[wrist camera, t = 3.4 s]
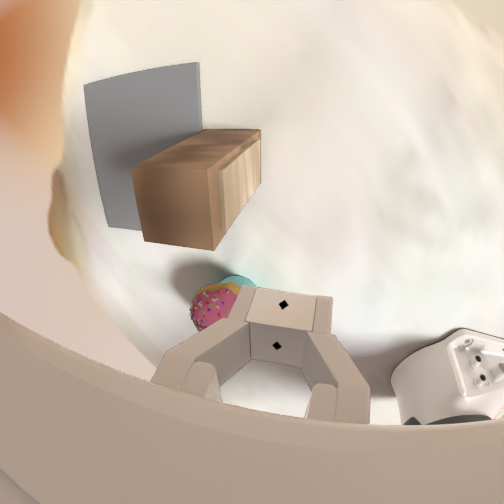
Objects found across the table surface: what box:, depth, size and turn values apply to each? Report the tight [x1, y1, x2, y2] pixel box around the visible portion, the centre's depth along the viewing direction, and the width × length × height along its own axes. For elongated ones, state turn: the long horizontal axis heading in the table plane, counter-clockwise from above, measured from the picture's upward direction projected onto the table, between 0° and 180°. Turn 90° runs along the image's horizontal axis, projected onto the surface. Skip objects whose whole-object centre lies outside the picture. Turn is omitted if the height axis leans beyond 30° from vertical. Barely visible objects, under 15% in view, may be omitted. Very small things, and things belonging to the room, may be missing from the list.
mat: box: [84, 62, 203, 231], centre depth 29 cm, size 14×18×1 cm
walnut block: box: [131, 129, 261, 251], centre depth 22 cm, size 5×5×12 cm
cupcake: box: [190, 276, 256, 332], centre depth 31 cm, size 9×8×12 cm
